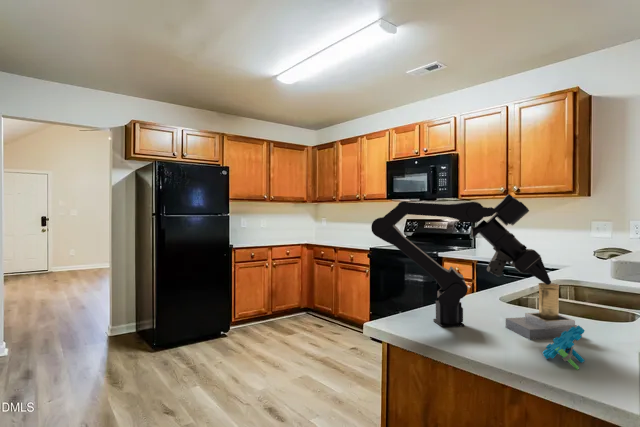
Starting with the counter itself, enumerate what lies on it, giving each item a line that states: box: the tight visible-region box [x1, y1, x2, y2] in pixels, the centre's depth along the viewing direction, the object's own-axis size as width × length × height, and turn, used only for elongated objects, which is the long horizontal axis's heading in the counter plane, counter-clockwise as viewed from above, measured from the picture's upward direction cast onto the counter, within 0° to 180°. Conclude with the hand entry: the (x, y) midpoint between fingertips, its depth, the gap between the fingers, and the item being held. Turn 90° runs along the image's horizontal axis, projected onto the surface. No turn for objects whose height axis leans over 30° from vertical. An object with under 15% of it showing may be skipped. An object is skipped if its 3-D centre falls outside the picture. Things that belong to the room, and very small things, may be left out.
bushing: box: [538, 282, 560, 321], centre depth 99 cm, size 5×5×12 cm
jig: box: [505, 311, 583, 340], centre depth 99 cm, size 14×10×4 cm
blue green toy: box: [542, 324, 586, 370], centre depth 80 cm, size 11×6×10 cm
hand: (544, 280), depth 99 cm, fingers open, 9 cm apart
